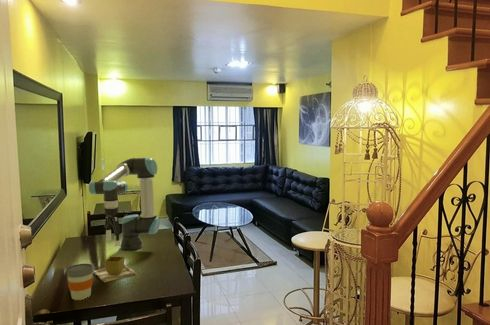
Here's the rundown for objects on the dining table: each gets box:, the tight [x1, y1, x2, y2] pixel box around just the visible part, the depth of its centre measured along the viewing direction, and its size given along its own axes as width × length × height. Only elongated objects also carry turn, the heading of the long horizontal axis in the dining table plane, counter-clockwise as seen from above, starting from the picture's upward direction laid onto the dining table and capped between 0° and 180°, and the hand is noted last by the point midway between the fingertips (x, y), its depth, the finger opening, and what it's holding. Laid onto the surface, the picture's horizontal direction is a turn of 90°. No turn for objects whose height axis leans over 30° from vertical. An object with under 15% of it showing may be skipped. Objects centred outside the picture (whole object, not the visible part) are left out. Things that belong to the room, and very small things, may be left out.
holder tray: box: [93, 264, 136, 283], centre depth 225 cm, size 18×18×2 cm
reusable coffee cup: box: [66, 263, 94, 301], centre depth 195 cm, size 13×12×15 cm
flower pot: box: [104, 255, 125, 275], centre depth 224 cm, size 9×9×9 cm
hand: (113, 243), depth 224 cm, fingers open, 13 cm apart
